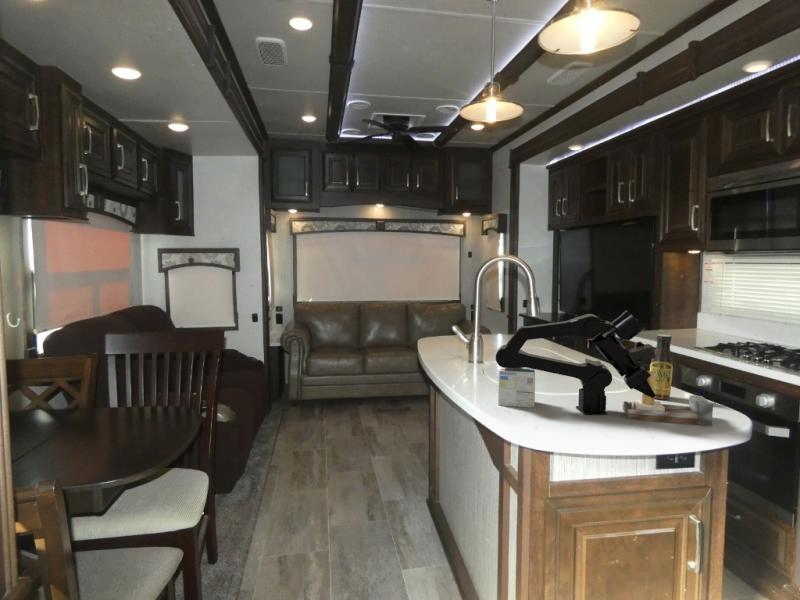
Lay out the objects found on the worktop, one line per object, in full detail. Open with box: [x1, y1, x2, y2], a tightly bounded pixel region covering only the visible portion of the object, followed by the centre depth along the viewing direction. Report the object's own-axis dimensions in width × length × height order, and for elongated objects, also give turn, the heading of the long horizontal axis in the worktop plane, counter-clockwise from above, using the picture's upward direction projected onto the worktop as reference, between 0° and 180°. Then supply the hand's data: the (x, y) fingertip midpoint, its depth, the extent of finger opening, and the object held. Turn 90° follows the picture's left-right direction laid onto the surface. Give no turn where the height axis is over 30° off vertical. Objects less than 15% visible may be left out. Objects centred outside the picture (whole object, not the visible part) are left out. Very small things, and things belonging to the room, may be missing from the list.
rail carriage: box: [631, 370, 665, 412], centre depth 135 cm, size 7×6×11 cm
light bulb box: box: [497, 366, 536, 409], centre depth 146 cm, size 11×7×11 cm, turn 78°
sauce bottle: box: [649, 333, 674, 400], centre depth 152 cm, size 7×6×20 cm
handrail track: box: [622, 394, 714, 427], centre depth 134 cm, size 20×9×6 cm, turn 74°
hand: (652, 395), depth 134 cm, fingers open, 3 cm apart
